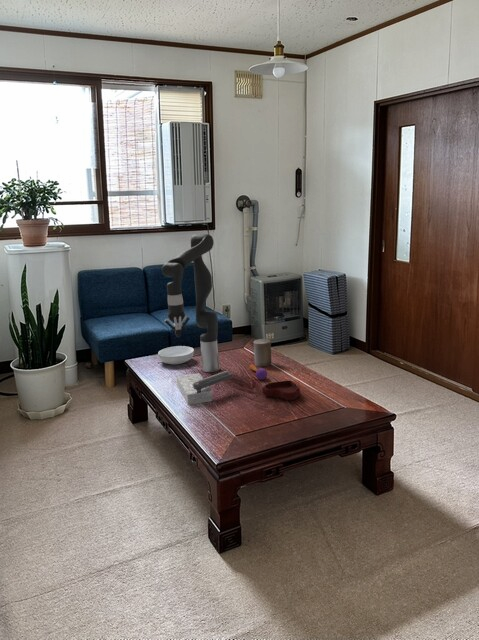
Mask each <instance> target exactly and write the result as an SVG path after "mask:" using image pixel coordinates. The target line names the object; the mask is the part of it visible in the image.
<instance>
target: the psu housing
mask: <svg viewBox="0 0 479 640" xmlns="http://www.w3.org/2000/svg"><path fill="white" fill-rule="evenodd" d="M201 379H204V378H203V376H202V375H201V373H199V372H198V373H189V374H184V375H182V374H181V375H177V376H176V385H177V387H178V390H179V391H180V393H181V395H182V397H183V398H184V400H185V402H186V404H187V405H189V406H190V405H196V404H202V403H207V402H213V401H214V400H213V390H212V389H211V388H210V386H208V387H205V388H203V389H194V388H193V383H195V382H198V381H199V380H201Z"/></svg>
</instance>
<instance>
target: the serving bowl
mask: <svg viewBox="0 0 479 640" xmlns="http://www.w3.org/2000/svg"><path fill="white" fill-rule="evenodd" d="M194 352H195V349H194V348H193V347H190V346H185V345H183V346H182V345H176V346H170V347H169V346H168V347H166V348H163V349H161V350H159V351H158V353H157V355H158V357H159V359H160V361H161V362H163V363H165V364H167V365H181V364H184V363H187V362H189V361H190V360H191V359H192V358H193V356H194V354H195V353H194Z"/></svg>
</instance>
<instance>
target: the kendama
mask: <svg viewBox="0 0 479 640" xmlns="http://www.w3.org/2000/svg"><path fill="white" fill-rule="evenodd" d="M249 370H251V371H253V372H255V377H256V378H257V380H260V381H262V380H263V381H264V380H265V379H267V378H268V371H267V370H266V369H264V368H263V367H261V368H259V369H258V368H257V366H256V365H255V363H254V364H253V363H252V364H250V365H249Z"/></svg>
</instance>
